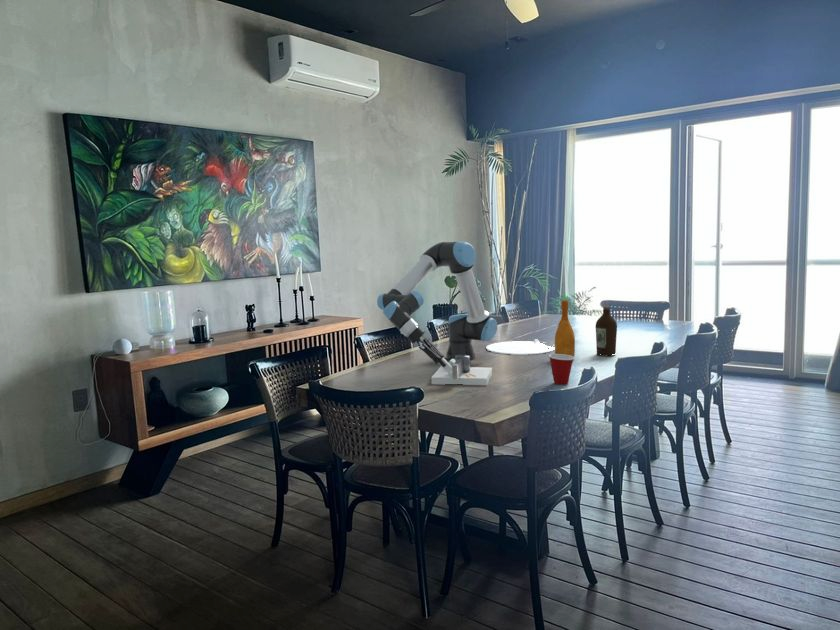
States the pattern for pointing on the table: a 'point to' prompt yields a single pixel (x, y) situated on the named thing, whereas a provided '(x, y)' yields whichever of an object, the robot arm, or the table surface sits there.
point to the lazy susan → (520, 347)
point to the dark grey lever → (460, 366)
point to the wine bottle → (564, 334)
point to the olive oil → (606, 333)
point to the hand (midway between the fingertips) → (451, 371)
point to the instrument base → (463, 376)
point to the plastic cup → (561, 367)
